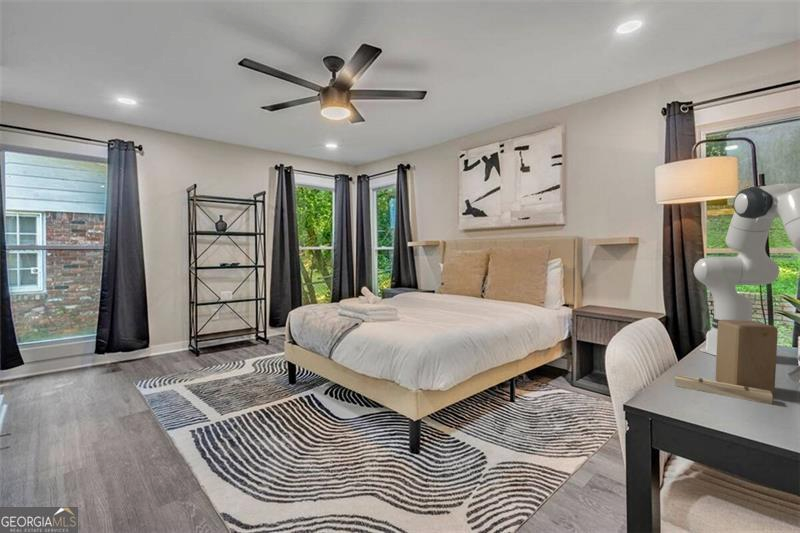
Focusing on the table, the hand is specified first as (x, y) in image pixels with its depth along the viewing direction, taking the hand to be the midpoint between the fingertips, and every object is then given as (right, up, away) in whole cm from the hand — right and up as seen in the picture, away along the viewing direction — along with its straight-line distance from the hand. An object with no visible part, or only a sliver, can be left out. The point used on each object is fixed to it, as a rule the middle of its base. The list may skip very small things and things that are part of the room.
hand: (790, 378), depth 104 cm
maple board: (-17, -5, +3) cm, 18 cm away
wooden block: (-7, -5, +6) cm, 11 cm away
